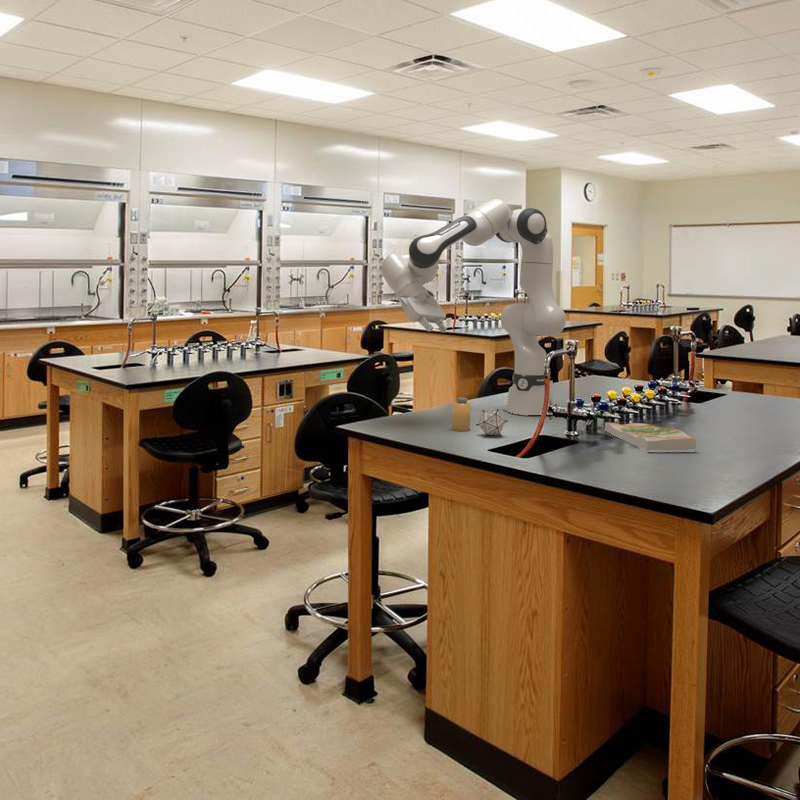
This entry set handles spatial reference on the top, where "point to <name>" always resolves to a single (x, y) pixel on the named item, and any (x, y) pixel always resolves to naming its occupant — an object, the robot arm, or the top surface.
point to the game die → (491, 422)
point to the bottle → (461, 415)
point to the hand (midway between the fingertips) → (437, 330)
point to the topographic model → (651, 436)
